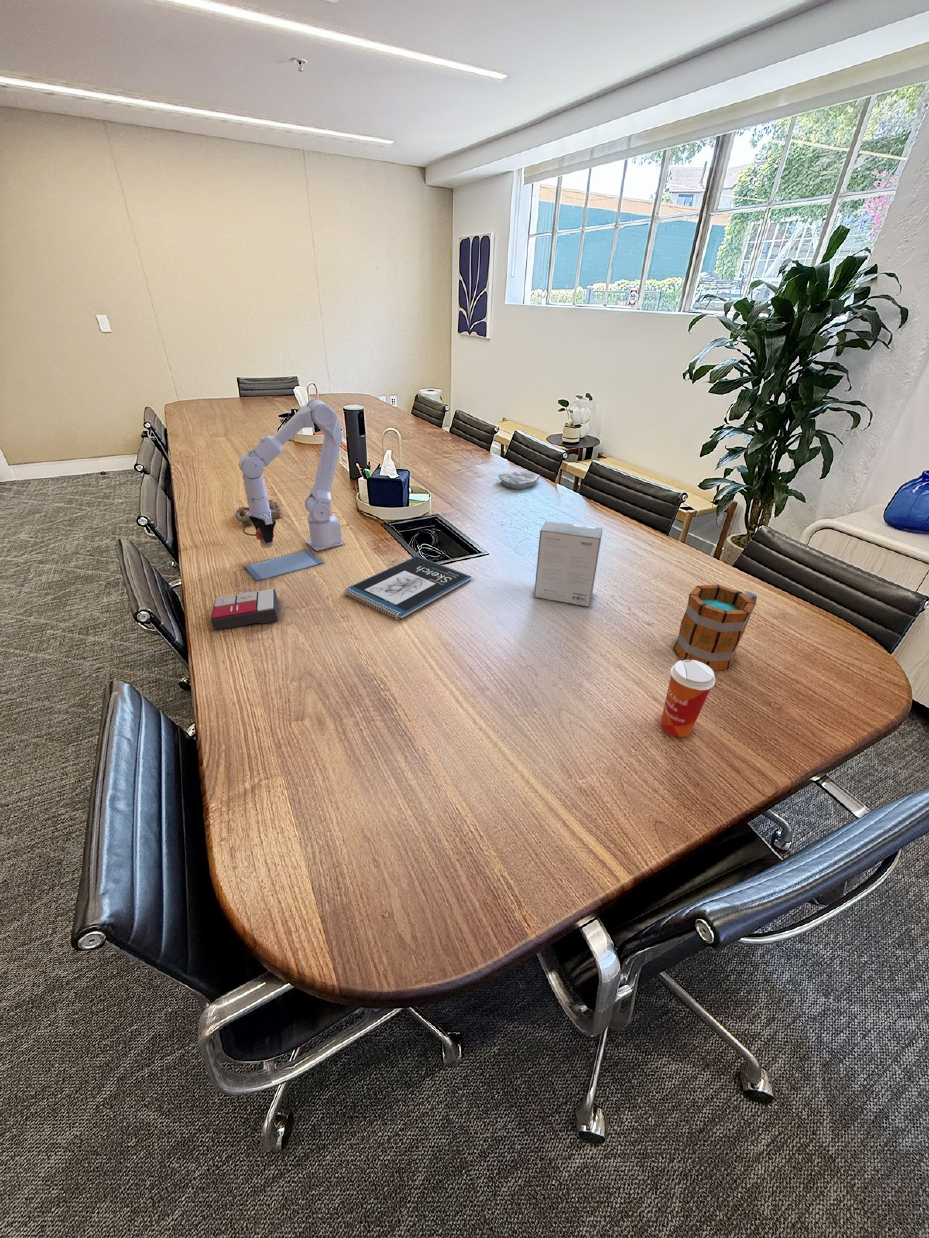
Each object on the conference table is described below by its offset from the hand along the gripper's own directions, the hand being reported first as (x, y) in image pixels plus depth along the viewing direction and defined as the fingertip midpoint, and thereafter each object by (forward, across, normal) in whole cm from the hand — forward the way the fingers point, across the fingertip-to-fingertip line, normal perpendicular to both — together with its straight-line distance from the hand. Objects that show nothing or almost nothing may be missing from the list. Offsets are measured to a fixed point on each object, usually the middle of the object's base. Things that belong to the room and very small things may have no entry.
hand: (265, 539), depth 159 cm
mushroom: (+2, 0, 0) cm, 2 cm away
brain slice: (+6, -10, +115) cm, 115 cm away
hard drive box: (+6, +73, +57) cm, 93 cm away
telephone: (+5, -30, +7) cm, 31 cm away
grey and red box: (+5, +33, -17) cm, 38 cm away
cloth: (+5, +10, +1) cm, 12 cm away
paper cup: (+5, +122, +37) cm, 128 cm away
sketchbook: (+5, +44, +25) cm, 51 cm away
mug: (+6, +112, +67) cm, 131 cm away
